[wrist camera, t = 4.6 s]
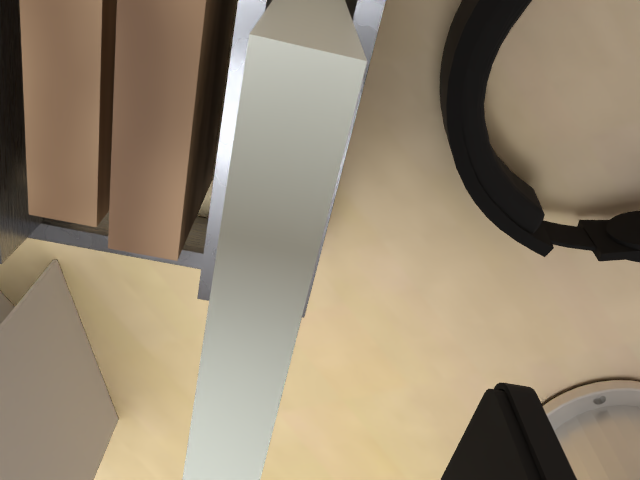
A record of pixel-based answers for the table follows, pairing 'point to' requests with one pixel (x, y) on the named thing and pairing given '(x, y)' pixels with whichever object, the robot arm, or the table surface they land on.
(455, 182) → the table surface
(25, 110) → the offcut short
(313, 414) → the table surface
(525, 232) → the headphones
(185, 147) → the offcut tall
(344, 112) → the pale grey panel
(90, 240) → the rack
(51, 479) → the brochure
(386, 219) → the table surface
